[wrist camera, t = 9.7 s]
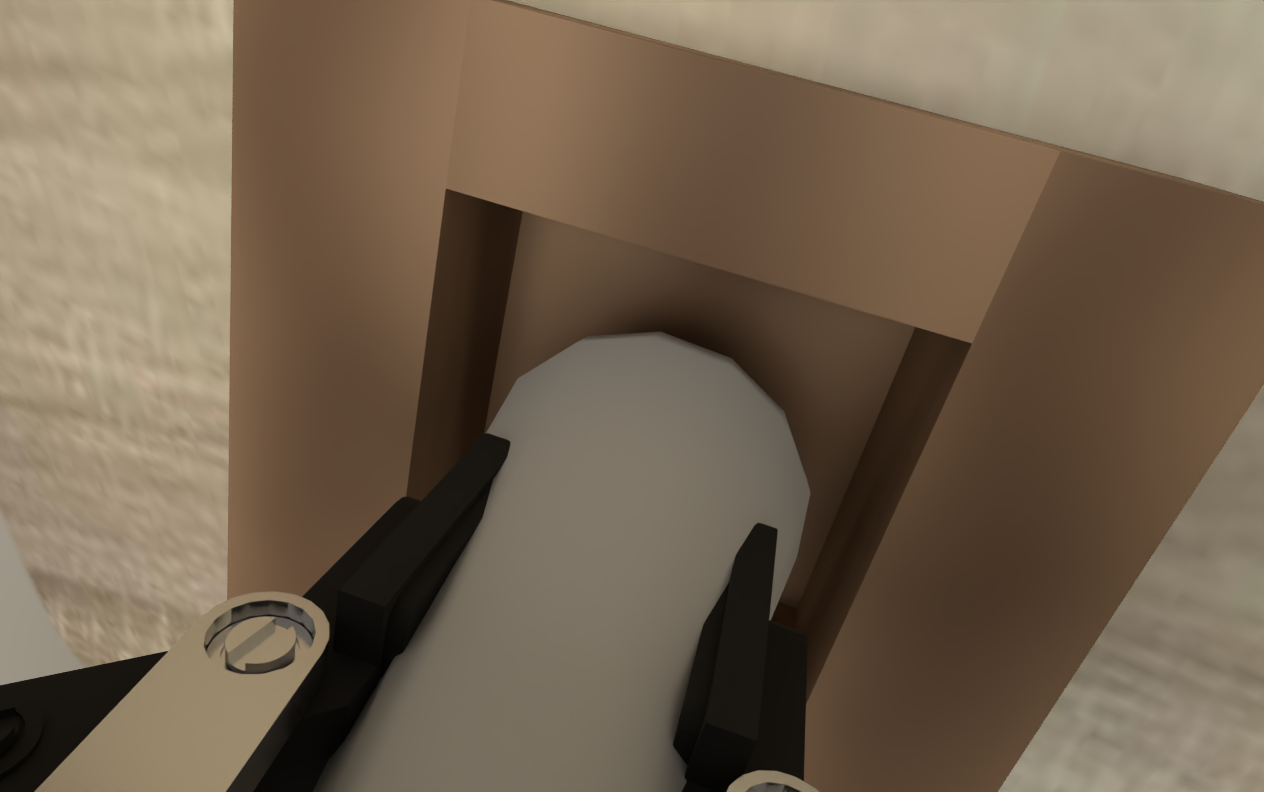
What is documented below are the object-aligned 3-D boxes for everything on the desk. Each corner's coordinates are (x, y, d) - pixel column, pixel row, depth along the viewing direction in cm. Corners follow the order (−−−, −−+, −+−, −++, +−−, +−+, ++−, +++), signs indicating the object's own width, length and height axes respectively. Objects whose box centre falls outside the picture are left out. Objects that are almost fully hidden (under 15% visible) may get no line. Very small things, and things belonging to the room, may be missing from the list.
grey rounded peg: (705, 601, 17) (454, 1751, 5) (486, 461, 17) (-257, 1327, 5) (872, 403, 15) (1081, 1775, 3) (616, 237, 14) (-271, 954, 3)
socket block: (1192, 181, 14) (1363, 231, 10) (905, 713, 20) (928, 897, 16) (400, -28, 16) (234, -68, 11) (349, 519, 22) (226, 634, 17)
